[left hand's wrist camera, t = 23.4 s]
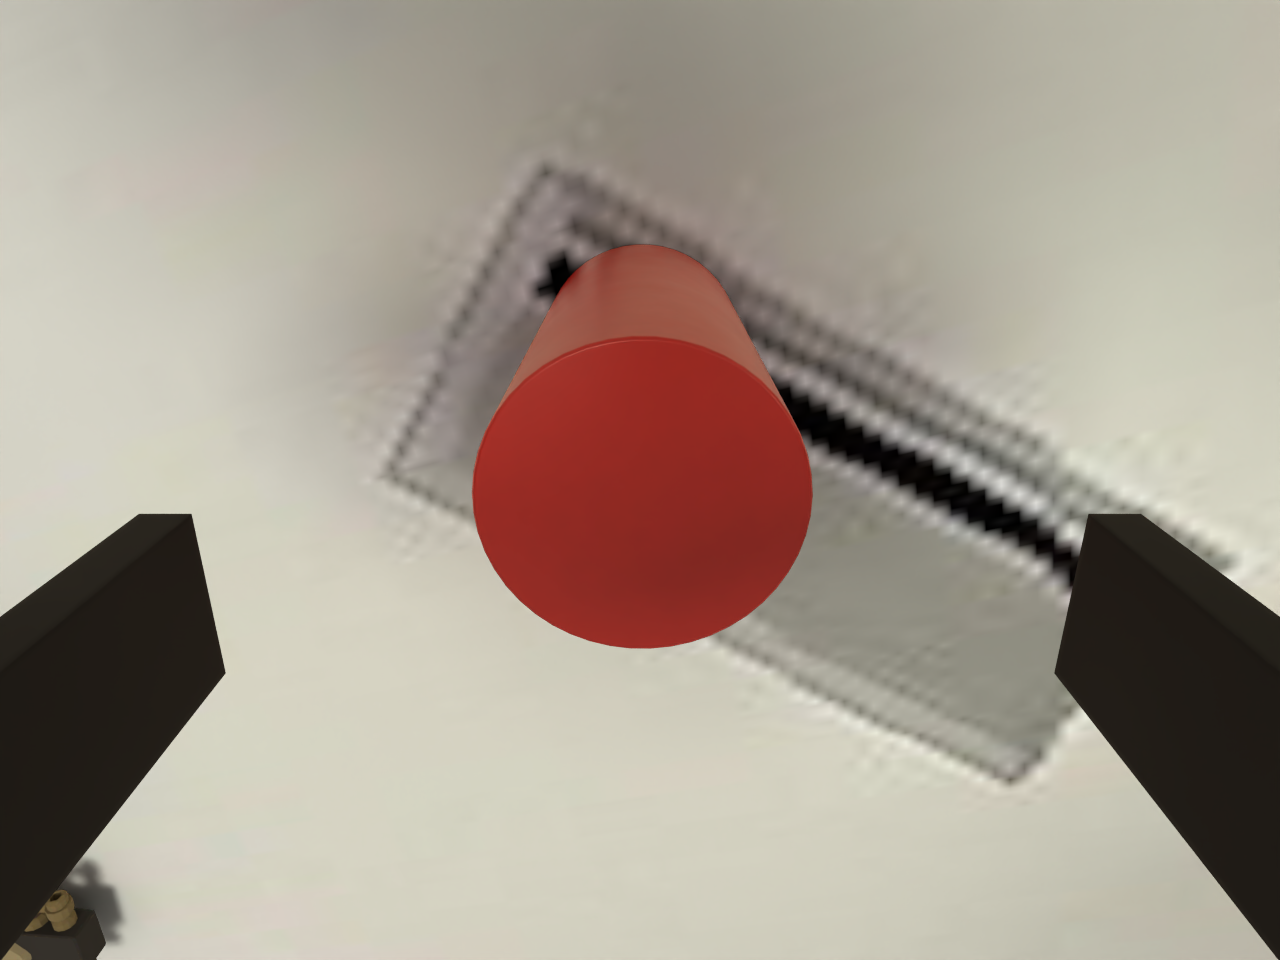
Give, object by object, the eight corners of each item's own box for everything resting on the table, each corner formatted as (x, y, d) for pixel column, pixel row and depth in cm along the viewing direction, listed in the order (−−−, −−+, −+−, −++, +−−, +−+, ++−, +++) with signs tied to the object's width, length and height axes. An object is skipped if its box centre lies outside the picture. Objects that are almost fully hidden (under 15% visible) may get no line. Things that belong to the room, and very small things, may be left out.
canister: (652, 200, 25) (662, 258, 14) (776, 353, 27) (881, 521, 15) (505, 333, 27) (399, 488, 15) (632, 469, 29) (626, 703, 17)
